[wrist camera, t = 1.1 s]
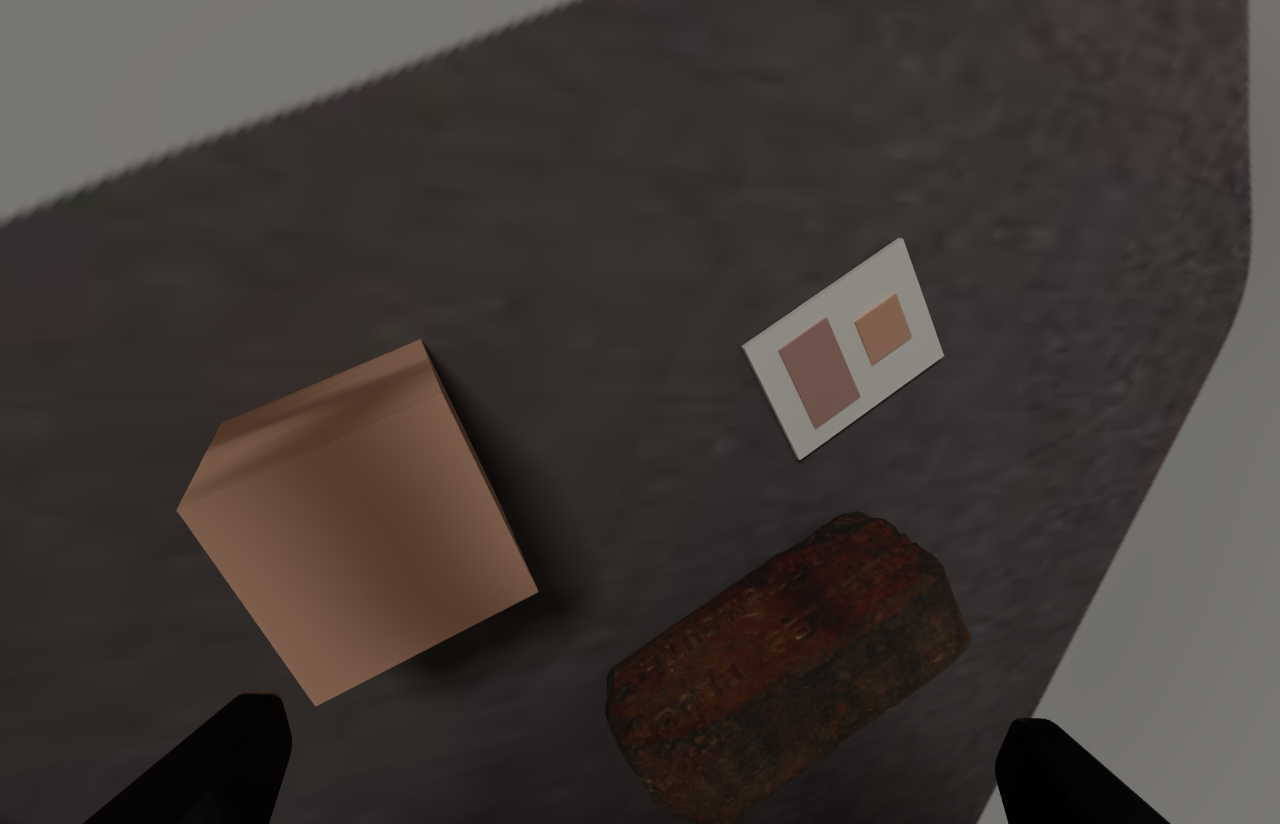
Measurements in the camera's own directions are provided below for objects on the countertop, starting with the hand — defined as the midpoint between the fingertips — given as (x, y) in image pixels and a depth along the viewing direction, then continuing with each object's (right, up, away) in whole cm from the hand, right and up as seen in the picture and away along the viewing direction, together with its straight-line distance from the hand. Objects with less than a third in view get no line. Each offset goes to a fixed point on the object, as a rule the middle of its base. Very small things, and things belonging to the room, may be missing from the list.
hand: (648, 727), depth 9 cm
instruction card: (+6, +6, +14) cm, 16 cm away
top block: (-7, +3, +10) cm, 12 cm away
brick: (+3, -3, +16) cm, 17 cm away
